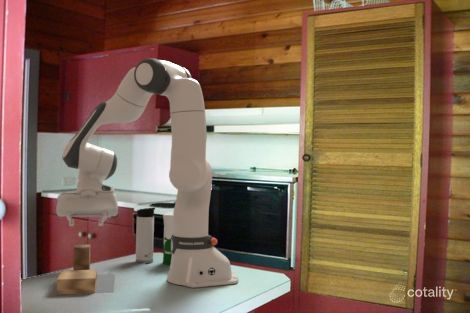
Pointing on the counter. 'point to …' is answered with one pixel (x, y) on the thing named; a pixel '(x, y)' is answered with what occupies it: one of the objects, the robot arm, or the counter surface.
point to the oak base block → (77, 281)
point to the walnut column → (81, 257)
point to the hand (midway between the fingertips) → (86, 224)
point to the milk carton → (168, 237)
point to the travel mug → (145, 235)
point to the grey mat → (103, 285)
